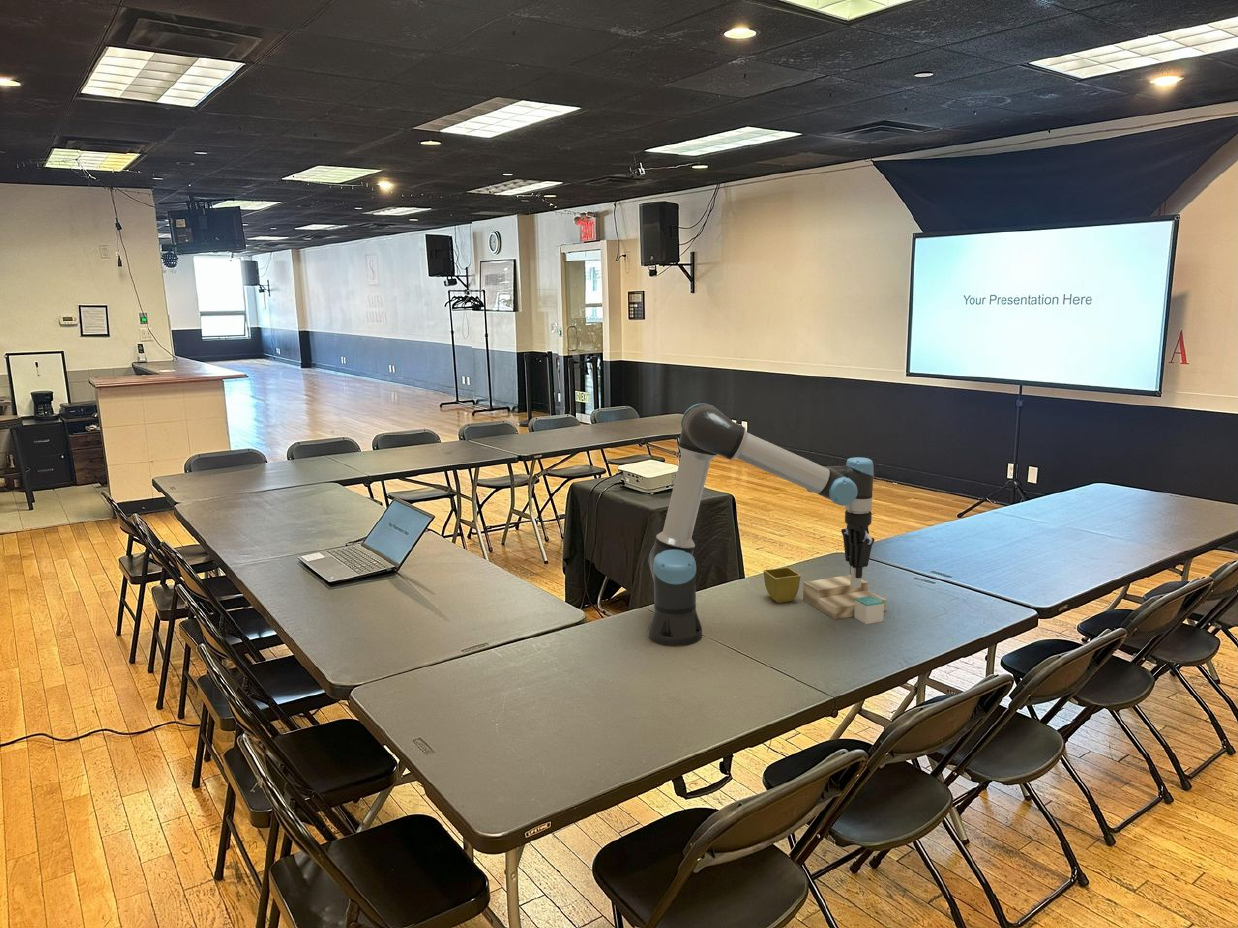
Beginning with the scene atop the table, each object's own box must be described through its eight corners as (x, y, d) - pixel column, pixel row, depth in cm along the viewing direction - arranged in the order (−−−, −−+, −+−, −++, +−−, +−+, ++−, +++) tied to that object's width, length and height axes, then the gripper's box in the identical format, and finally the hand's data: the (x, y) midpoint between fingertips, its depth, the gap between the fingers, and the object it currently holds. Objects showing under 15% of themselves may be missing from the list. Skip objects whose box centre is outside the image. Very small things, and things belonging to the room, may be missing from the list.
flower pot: (774, 606, 245) (775, 578, 244) (762, 596, 254) (762, 569, 252) (800, 603, 248) (801, 575, 246) (787, 593, 256) (788, 566, 254)
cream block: (854, 598, 234) (854, 617, 235) (866, 604, 229) (865, 624, 230) (872, 595, 236) (871, 614, 237) (884, 601, 231) (883, 621, 232)
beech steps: (834, 619, 234) (835, 599, 233) (803, 600, 250) (803, 581, 249) (885, 610, 240) (886, 591, 239) (851, 592, 256) (852, 574, 255)
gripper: (883, 514, 229) (880, 592, 234) (855, 504, 241) (852, 578, 246) (861, 517, 227) (858, 595, 231) (834, 506, 239) (832, 582, 243)
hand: (855, 587), depth 238 cm, fingers closed
